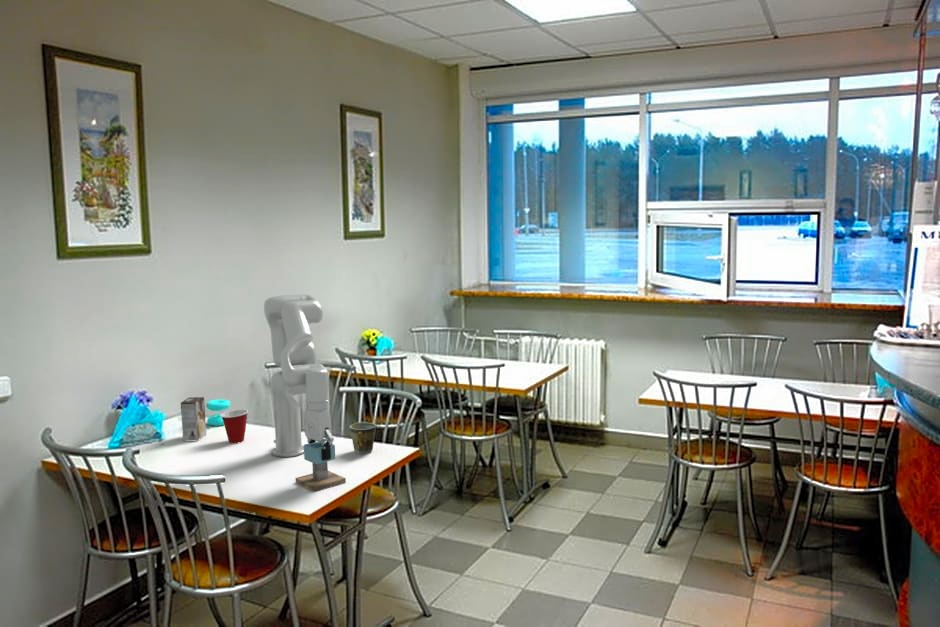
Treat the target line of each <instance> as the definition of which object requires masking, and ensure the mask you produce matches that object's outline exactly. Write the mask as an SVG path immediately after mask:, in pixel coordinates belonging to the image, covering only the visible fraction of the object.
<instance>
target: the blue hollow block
mask: <svg viewBox="0 0 940 627" xmlns="http://www.w3.org/2000/svg"><path fill="white" fill-rule="evenodd" d="M326 442H327V441H324V443H325V444H326ZM303 446H304V453H303V459H304V460H305V461H308V462H310V463H314V464H319V463H323V462H327V463H328V462H330V461H334V460H336V446H335V444H334V443H332V445H331V459H328V460H324V461H323V460H322V453H321V449H323V448H322V445H321V441H320V442H318V441H316V442H314V443H306V444H303Z"/></svg>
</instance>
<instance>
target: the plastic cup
mask: <svg viewBox="0 0 940 627" xmlns="http://www.w3.org/2000/svg"><path fill="white" fill-rule="evenodd" d="M248 413H249V410H248V409H235V410H229V411H225V412H223V413H220V414H221V415H220V416H221V417H222V419H223V422H224V425H223V426H224V429H225V433H226V435H227V440H228V441H227V442H228V443H229V442H230V444H239V443H238V442H240V443H243V442H244V440H245V436H246V428H247V420H248ZM242 441H243V442H242Z"/></svg>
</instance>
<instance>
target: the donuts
mask: <svg viewBox="0 0 940 627" xmlns="http://www.w3.org/2000/svg"><path fill="white" fill-rule="evenodd" d="M230 406H231V401H230V400H228V399H224V398H221V399H219V398H218V399H213V400H209V401H208V402H206V404H205V407H206V408H207V410H210V411H212V412H220V411H224V410H227V409H228V408H230ZM221 414H222V413H219V414H214V415H210V416H208V418H207V419H206V423H207V425H209V426H211V425H215V426H214V427H219V426H218V425H223V426H225V425H224V422H223V419H222V417H221V416H220V415H221Z"/></svg>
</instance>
